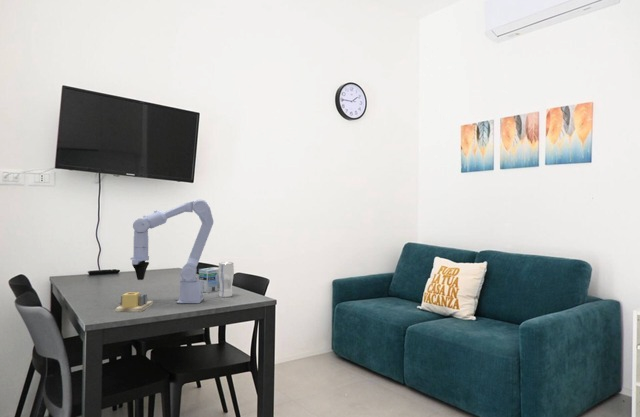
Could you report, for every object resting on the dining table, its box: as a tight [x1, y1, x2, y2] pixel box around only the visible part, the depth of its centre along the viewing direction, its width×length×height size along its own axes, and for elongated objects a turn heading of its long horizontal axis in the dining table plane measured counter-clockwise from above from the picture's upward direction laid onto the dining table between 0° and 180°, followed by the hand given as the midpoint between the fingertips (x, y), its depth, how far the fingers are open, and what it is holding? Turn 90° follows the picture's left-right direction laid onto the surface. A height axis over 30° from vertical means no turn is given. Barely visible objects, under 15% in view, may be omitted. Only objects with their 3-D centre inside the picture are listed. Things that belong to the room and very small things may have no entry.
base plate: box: [114, 300, 154, 313], centre depth 175 cm, size 10×13×4 cm
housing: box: [120, 293, 148, 306], centre depth 175 cm, size 9×5×4 cm, turn 94°
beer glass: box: [217, 261, 235, 298], centre depth 200 cm, size 7×7×15 cm
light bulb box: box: [198, 266, 220, 294], centre depth 213 cm, size 11×7×11 cm, turn 147°
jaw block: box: [121, 291, 141, 308], centre depth 172 cm, size 5×5×5 cm
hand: (140, 279), depth 183 cm, fingers closed
